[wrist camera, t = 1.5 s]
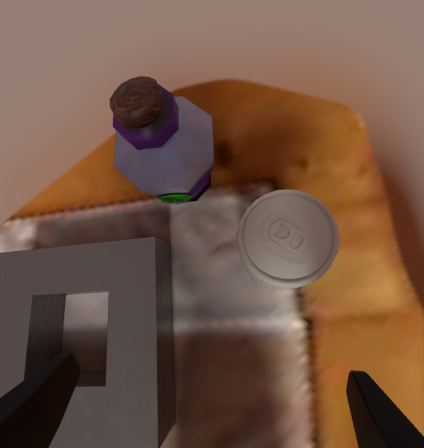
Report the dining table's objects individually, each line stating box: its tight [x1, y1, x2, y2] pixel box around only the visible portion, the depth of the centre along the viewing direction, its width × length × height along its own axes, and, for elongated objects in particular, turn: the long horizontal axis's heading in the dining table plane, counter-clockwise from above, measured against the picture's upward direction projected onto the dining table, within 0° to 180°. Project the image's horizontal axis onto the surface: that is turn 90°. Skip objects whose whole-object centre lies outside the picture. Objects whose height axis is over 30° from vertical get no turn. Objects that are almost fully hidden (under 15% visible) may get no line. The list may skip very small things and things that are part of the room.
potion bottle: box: [110, 77, 214, 204], centre depth 21 cm, size 9×9×12 cm
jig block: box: [0, 237, 175, 448], centre depth 23 cm, size 15×15×4 cm
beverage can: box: [237, 189, 339, 289], centre depth 18 cm, size 5×5×12 cm
